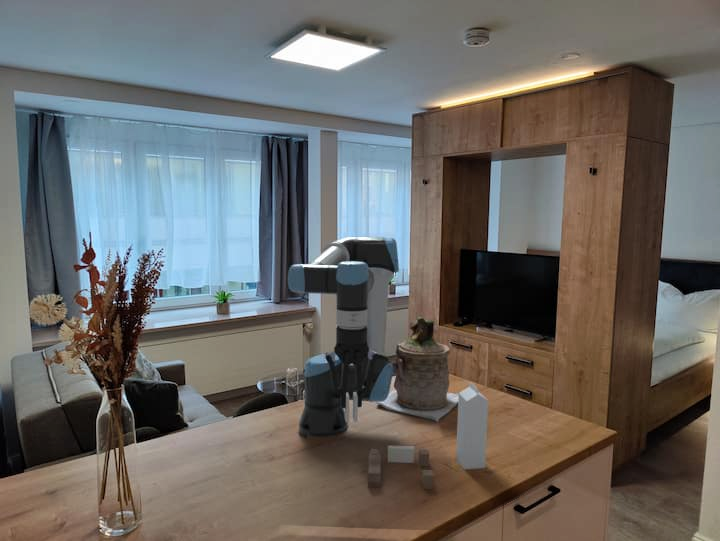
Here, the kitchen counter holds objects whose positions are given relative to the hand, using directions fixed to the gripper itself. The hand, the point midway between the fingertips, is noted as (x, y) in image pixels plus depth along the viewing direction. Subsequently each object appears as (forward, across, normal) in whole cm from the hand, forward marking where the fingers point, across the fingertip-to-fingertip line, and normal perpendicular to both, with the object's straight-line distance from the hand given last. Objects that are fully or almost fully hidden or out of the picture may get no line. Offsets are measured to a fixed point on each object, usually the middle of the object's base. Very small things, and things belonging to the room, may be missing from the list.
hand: (350, 419), depth 119 cm
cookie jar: (+17, +32, +47) cm, 59 cm away
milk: (+17, +34, +5) cm, 38 cm away
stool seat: (+16, +12, 0) cm, 20 cm away
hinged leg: (+15, +6, 0) cm, 16 cm away
